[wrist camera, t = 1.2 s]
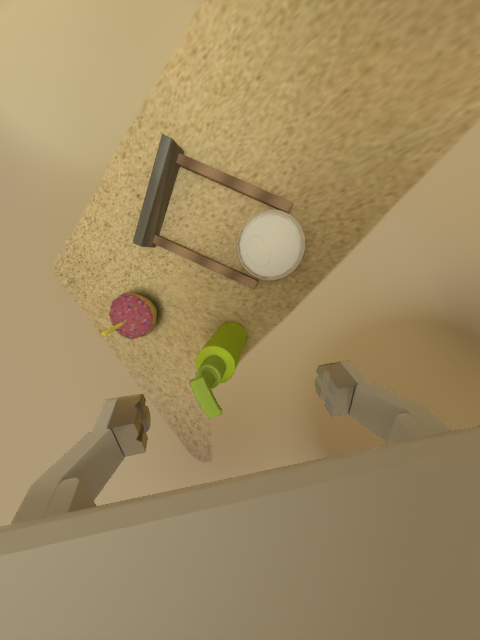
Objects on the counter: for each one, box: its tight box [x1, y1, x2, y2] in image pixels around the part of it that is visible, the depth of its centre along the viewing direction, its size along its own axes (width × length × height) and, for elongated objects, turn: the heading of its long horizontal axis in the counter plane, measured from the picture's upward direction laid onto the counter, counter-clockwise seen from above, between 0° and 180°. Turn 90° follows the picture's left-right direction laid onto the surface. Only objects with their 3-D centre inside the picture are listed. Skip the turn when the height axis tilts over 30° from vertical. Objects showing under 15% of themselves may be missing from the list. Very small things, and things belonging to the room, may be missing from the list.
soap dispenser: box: [189, 322, 247, 418], centre depth 38 cm, size 6×7×20 cm
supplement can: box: [237, 209, 305, 281], centre depth 35 cm, size 8×8×15 cm
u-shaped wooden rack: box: [133, 134, 293, 289], centre depth 41 cm, size 22×16×5 cm
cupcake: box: [99, 292, 157, 339], centre depth 44 cm, size 9×8×12 cm
